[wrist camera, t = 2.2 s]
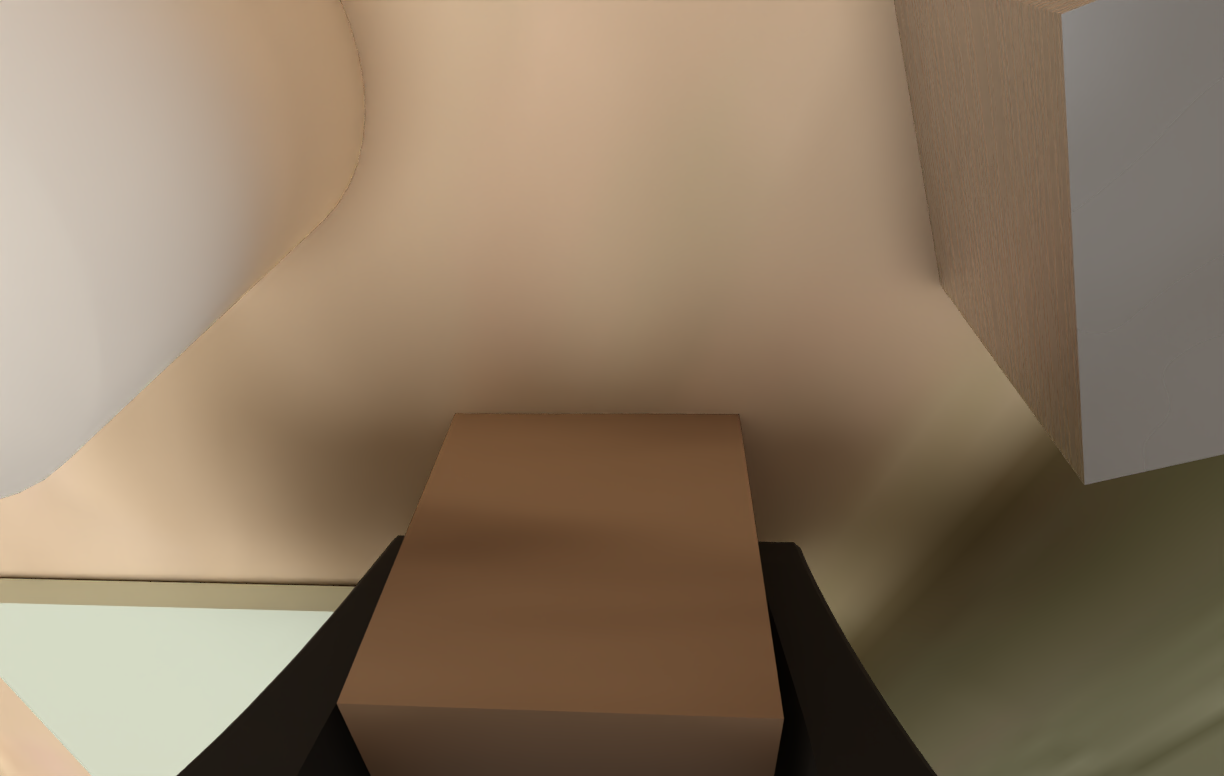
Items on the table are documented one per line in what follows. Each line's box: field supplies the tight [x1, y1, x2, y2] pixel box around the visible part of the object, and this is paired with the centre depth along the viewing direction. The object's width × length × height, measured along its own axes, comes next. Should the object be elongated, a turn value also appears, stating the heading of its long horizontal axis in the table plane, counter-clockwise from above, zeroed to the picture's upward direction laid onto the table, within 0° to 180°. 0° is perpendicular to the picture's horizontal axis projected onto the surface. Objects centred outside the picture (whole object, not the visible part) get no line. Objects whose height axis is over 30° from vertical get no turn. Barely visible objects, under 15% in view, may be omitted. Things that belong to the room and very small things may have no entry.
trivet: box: [0, 578, 355, 776], centre depth 17 cm, size 11×11×1 cm
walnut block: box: [337, 413, 784, 776], centre depth 10 cm, size 4×4×5 cm
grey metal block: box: [894, 0, 1224, 485], centre depth 6 cm, size 4×4×4 cm
